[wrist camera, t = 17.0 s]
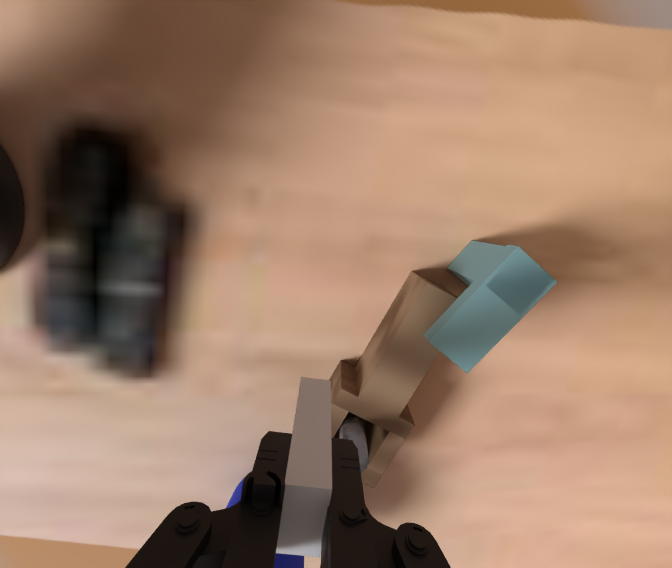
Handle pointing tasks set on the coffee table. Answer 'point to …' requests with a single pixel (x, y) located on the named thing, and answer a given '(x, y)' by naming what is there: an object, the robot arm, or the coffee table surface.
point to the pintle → (355, 436)
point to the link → (390, 373)
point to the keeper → (487, 300)
